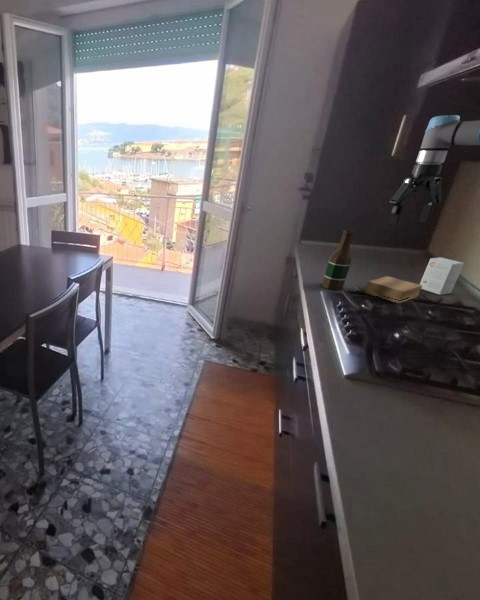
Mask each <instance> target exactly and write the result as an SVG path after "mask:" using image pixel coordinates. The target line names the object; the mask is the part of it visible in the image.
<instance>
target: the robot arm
mask: <svg viewBox="0 0 480 600" xmlns="http://www.w3.org/2000/svg"><path fill="white" fill-rule="evenodd" d="M460 119H461V117H460V115H458V114H449V115H437V116H433V117H432V118H431V119H430V120H429V121H428V125H427V127H426V129H425V132H424V136H423V139H422V142H421V145H420V148H419V151H418V155H417V157H416V160H415V163H416V164H414V166H413V168H412V171H411V175H412V176H413V177H405V178H404V180H403V182H402V184H401V185H400V187H399V188H398V190H397V191H396V192H395V193H394V195H393V196H392V198H391V199H390V200H389V204H390V205H391V206H392V209H391V212H390V213H391V215H390V218H389V222H388V223H389V224H394V225H398V223H399V220H400V218H401V215H402V211H403V208H404V206H403V205H404V204H405V203H406V202H407V201H408V200H409V199H410V198H411V197H412V196H413V195H414V194H415V193H417V192H418V191H419V192H421V191H422V192H423V195H424V199H425V201H426V204H424V205H423V208H422V211H421V214H420V217H419V219H418V223H424V224H428V222H429V220H430V218H431V217H430V216H431V215H432V213H433V210H434V208H435V206H439V204H441V203H442V181H443V177H438V176H439V175H440V173H441V171H442V169H443V163H445V160H446V157H447V154H448V151H449V148H450V147H451V146H480V119H479V120H460ZM436 176H437V177H436Z"/></svg>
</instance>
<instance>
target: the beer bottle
mask: <svg viewBox="0 0 480 600" xmlns="http://www.w3.org/2000/svg"><path fill="white" fill-rule="evenodd" d="M342 233H343V234H342V237H341V239H340V242H339V245H338V247H337V249H336V250H334V251H333V252H332V253H331V254H330V256H329V258H328V262H327V265H326V269H325V272H324V275H323V279H322V283H321V286H322V287H323V288H325V289H328V290H333V291H340V290H341V291H342V289H343V287H344V286H345V282H346V279H347V276H348V273H349V269H350V267H351V263H352V255H351V252H350V247H351V245H352V239H353V236H354V235H355V231H354V230H348V229H345V230H343V231H342Z"/></svg>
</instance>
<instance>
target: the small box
mask: <svg viewBox="0 0 480 600" xmlns="http://www.w3.org/2000/svg"><path fill="white" fill-rule="evenodd" d="M464 265H465V262H462V261H457V260H454V259H449V258H445V257H432V258H431V257H430V258H429V261H428V263H427V266H426V268H425V270H424V273H423V275H422V278H421V280H420V283H419V285H422V287H421V290H424V291H427V292H430V293H433V294H435V295H436V294H437V295H440V296H442V295H449V294H452V292H453V290H454V287H455V284H456V283H457V281H458V279H459V276H460V274H461V271H462V269H463V267H464Z"/></svg>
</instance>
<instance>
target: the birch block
mask: <svg viewBox="0 0 480 600" xmlns="http://www.w3.org/2000/svg"><path fill="white" fill-rule="evenodd" d="M421 287H422V285H420V283H419V284H418V283H415V282H412V281H407V280H403V279H399V278H396V277H392V276H388V275H385V276H382V277H379V278H375V279H371V280H369V281H367V284H366V286H365V289H364V292H363V293H364V294H367V295H369V296H374V297H376V296H378V297H377V298H379V297H381V298H380V299H383V300H386V301H389V302H392V303H395V302H396V303H395V304H398V303H399V304H402V303H405V302H407V301H410V300H414V299H416V298H418V297H419V295H420V292H421V291H422V289H421ZM375 293H376V294H375ZM378 294H379V295H378ZM381 295H382V296H381ZM384 296H386V297H384ZM387 297H390V298H387ZM407 297H410V298H408V299H405V298H407ZM391 298H393V299H391ZM394 299H397V300H402V299H405V300H402V301H397V300H394ZM409 299H410V300H409Z"/></svg>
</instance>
